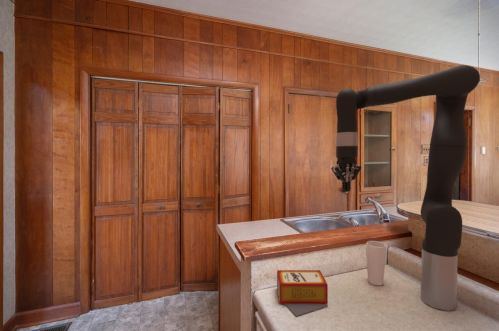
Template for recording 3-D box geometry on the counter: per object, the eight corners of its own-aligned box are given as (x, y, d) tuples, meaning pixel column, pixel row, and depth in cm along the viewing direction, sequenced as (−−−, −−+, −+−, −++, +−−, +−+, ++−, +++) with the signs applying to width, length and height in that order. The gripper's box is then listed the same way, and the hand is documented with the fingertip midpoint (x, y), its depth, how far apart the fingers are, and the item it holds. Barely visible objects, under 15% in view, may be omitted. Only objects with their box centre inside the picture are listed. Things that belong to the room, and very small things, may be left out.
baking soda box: (327, 284, 80) (278, 284, 80) (327, 303, 80) (278, 303, 81) (320, 270, 89) (276, 270, 90) (320, 287, 90) (276, 287, 90)
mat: (306, 289, 89) (306, 288, 89) (327, 306, 79) (327, 305, 79) (278, 297, 85) (277, 296, 85) (296, 317, 74) (296, 315, 74)
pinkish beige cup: (389, 287, 90) (390, 247, 89) (370, 287, 90) (371, 247, 89) (379, 277, 97) (380, 240, 96) (362, 277, 97) (363, 240, 96)
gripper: (340, 144, 85) (340, 194, 86) (368, 144, 90) (367, 191, 91) (325, 145, 92) (325, 191, 93) (352, 145, 97) (351, 188, 98)
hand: (346, 191), depth 92 cm, fingers closed
